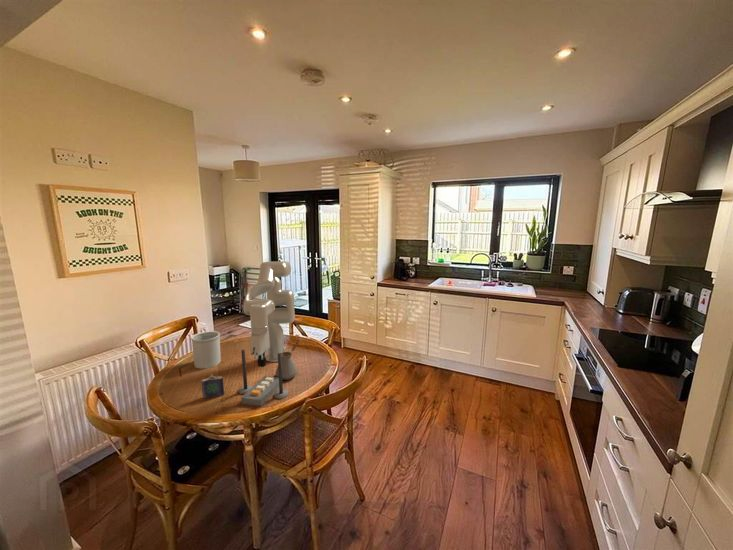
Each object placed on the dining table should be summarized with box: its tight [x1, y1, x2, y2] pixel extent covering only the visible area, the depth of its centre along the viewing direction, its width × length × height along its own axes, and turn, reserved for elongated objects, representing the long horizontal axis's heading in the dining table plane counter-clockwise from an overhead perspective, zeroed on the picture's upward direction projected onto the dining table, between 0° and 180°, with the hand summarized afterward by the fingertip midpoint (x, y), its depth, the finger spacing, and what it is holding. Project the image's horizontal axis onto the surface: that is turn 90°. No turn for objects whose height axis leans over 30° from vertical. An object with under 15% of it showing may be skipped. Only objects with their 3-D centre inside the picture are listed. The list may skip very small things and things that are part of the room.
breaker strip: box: [240, 375, 279, 407], centre depth 141 cm, size 20×10×4 cm, turn 169°
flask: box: [200, 373, 225, 400], centre depth 138 cm, size 9×3×11 cm, turn 110°
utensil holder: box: [190, 330, 221, 369], centre depth 170 cm, size 15×15×18 cm
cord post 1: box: [238, 349, 253, 395], centre depth 141 cm, size 6×6×21 cm
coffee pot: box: [274, 339, 300, 381], centre depth 160 cm, size 21×12×15 cm, turn 166°
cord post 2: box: [273, 353, 289, 400], centre depth 138 cm, size 6×6×21 cm
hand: (261, 365), depth 139 cm, fingers closed
